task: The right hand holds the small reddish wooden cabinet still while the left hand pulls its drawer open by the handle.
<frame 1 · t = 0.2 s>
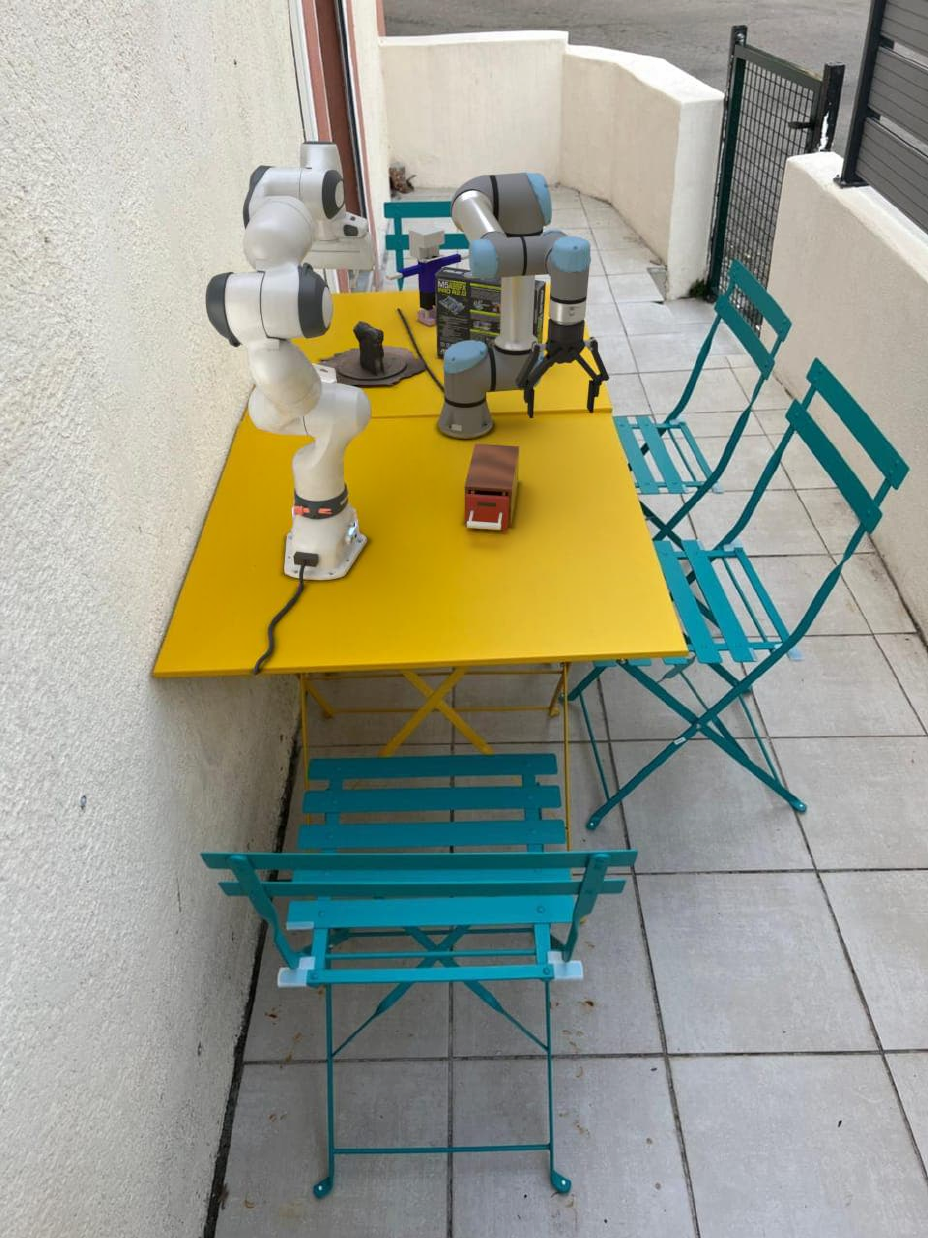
left hand: (333, 287, 199), 48 cm above the table, tool pointing down, fingers open, 8 cm apart
right hand: (560, 412, 196), 28 cm above the table, tool pointing down, fingers open, 13 cm apart
sculpture: (369, 368, 279), on the table
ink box: (324, 417, 254), on the table
box: (488, 362, 282), on the table
cabinet: (492, 503, 219), on the table
toy: (430, 321, 308), on the table
drawer: (489, 499, 210), point 5 cm above the table, slide at 1.7 cm
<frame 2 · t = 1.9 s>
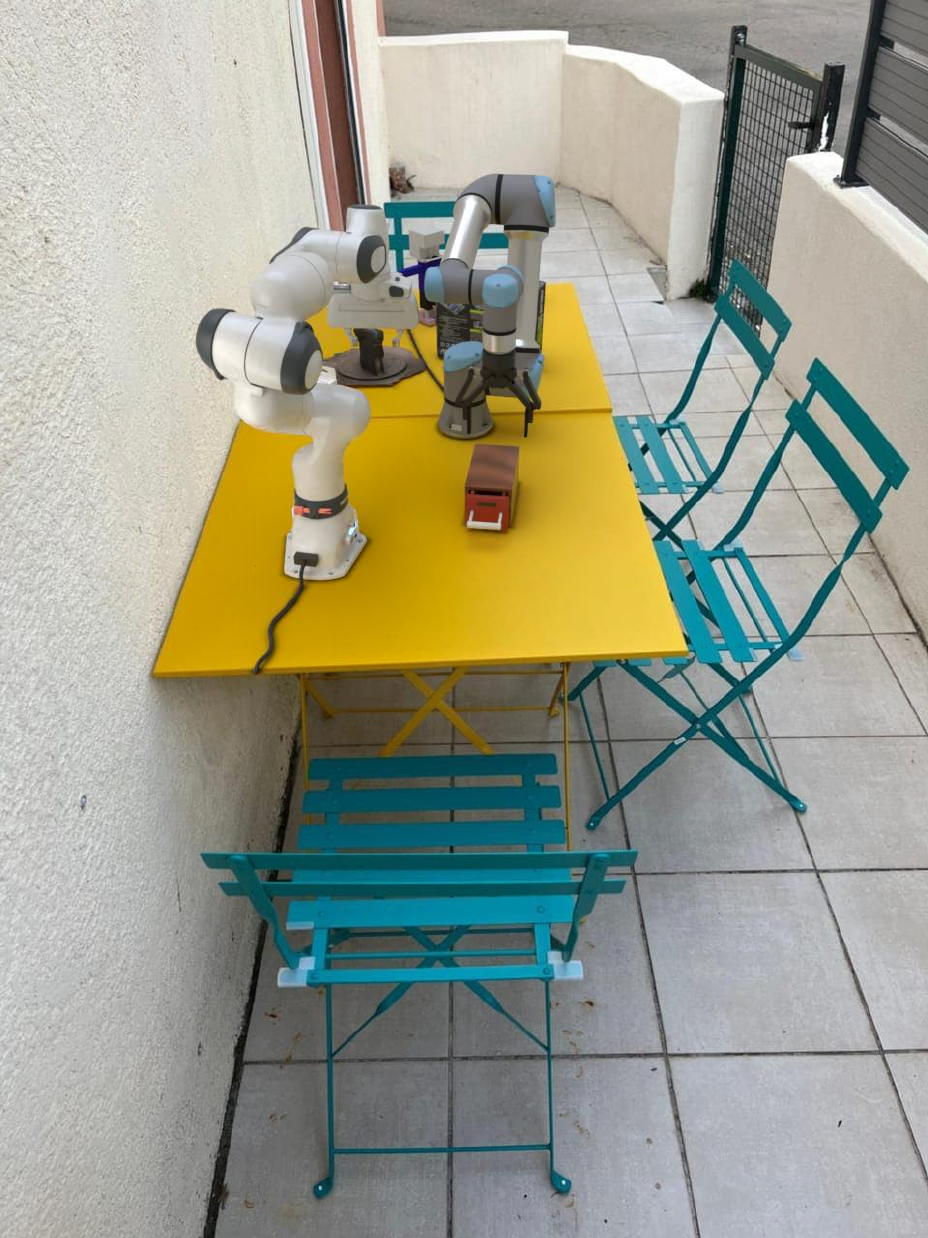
left hand: (375, 346, 199), 38 cm above the table, tool pointing down, fingers open, 8 cm apart
right hand: (497, 433, 212), 17 cm above the table, tool pointing down, fingers open, 13 cm apart
nothing on the table moved.
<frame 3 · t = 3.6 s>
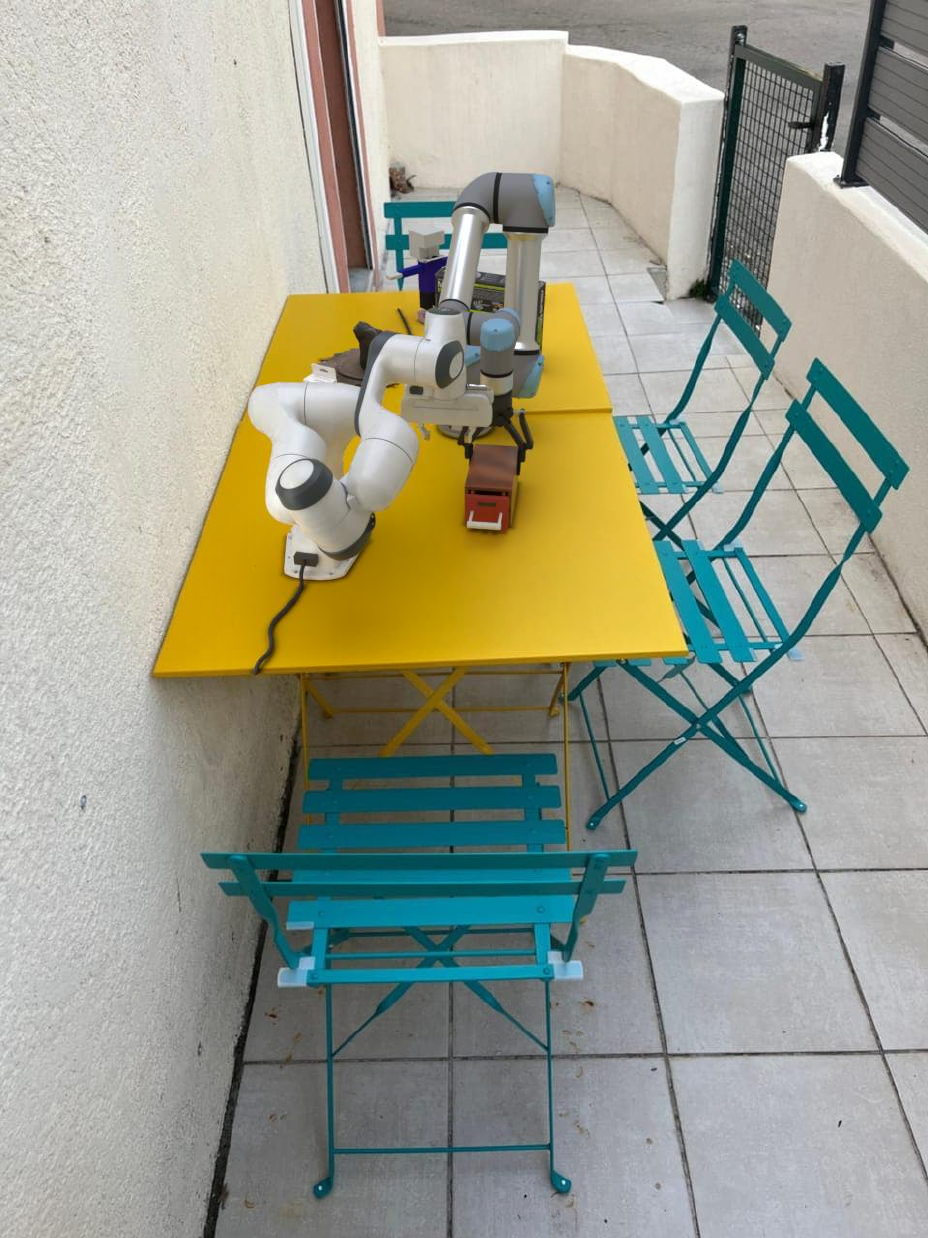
left hand: (447, 440, 199), 22 cm above the table, tool pointing down, fingers open, 8 cm apart
right hand: (494, 471, 219), 6 cm above the table, tool pointing down, fingers closed on cabinet, 11 cm apart
cabinet: (492, 503, 219), on the table, touching right hand
everything else where it was.
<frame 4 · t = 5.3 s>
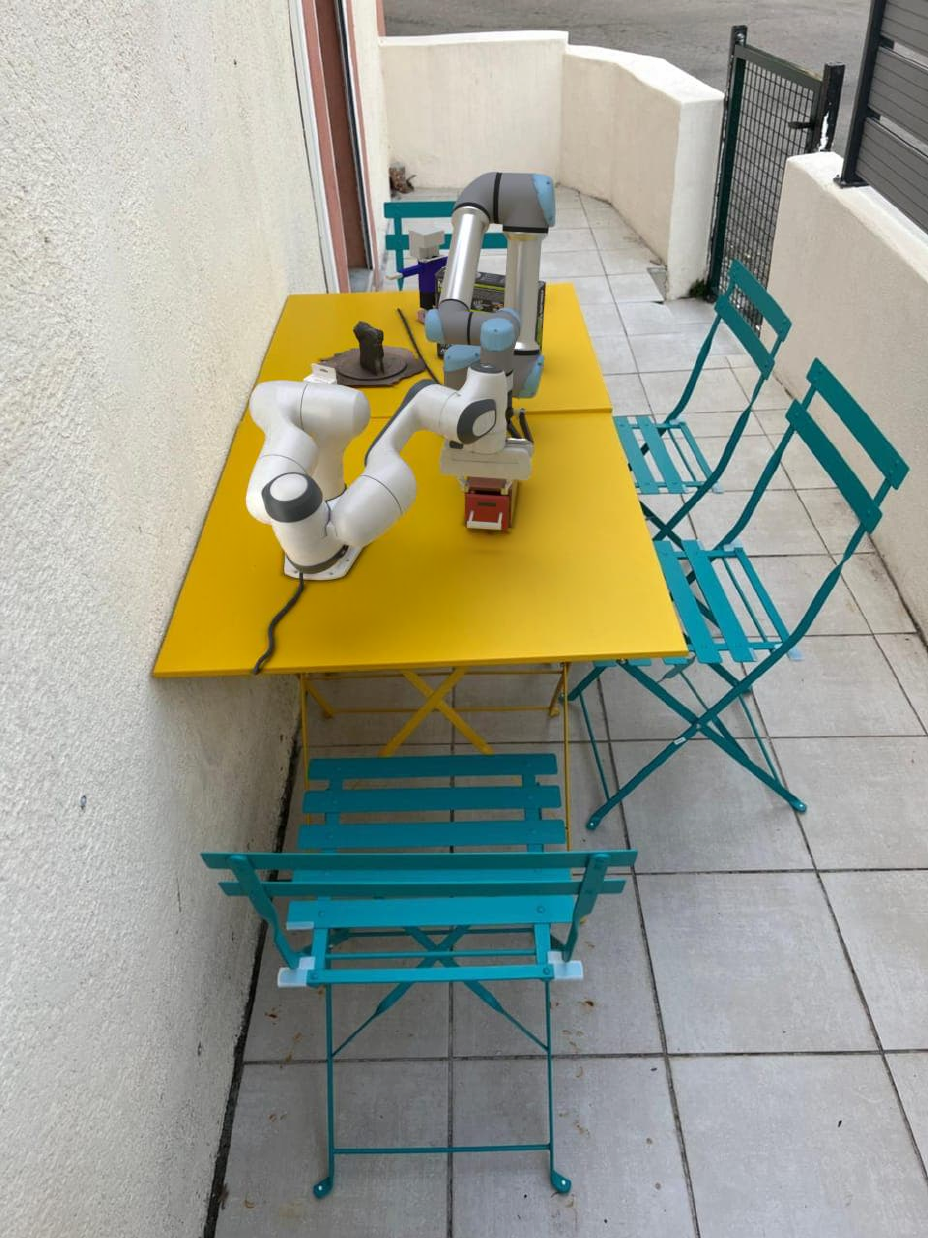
left hand: (485, 492, 198), 13 cm above the table, tool pointing down, fingers open, 7 cm apart
right hand: (494, 471, 219), 6 cm above the table, tool pointing down, fingers closed on cabinet, 11 cm apart
cabinet: (492, 502, 219), on the table, touching right hand
everything else where it was.
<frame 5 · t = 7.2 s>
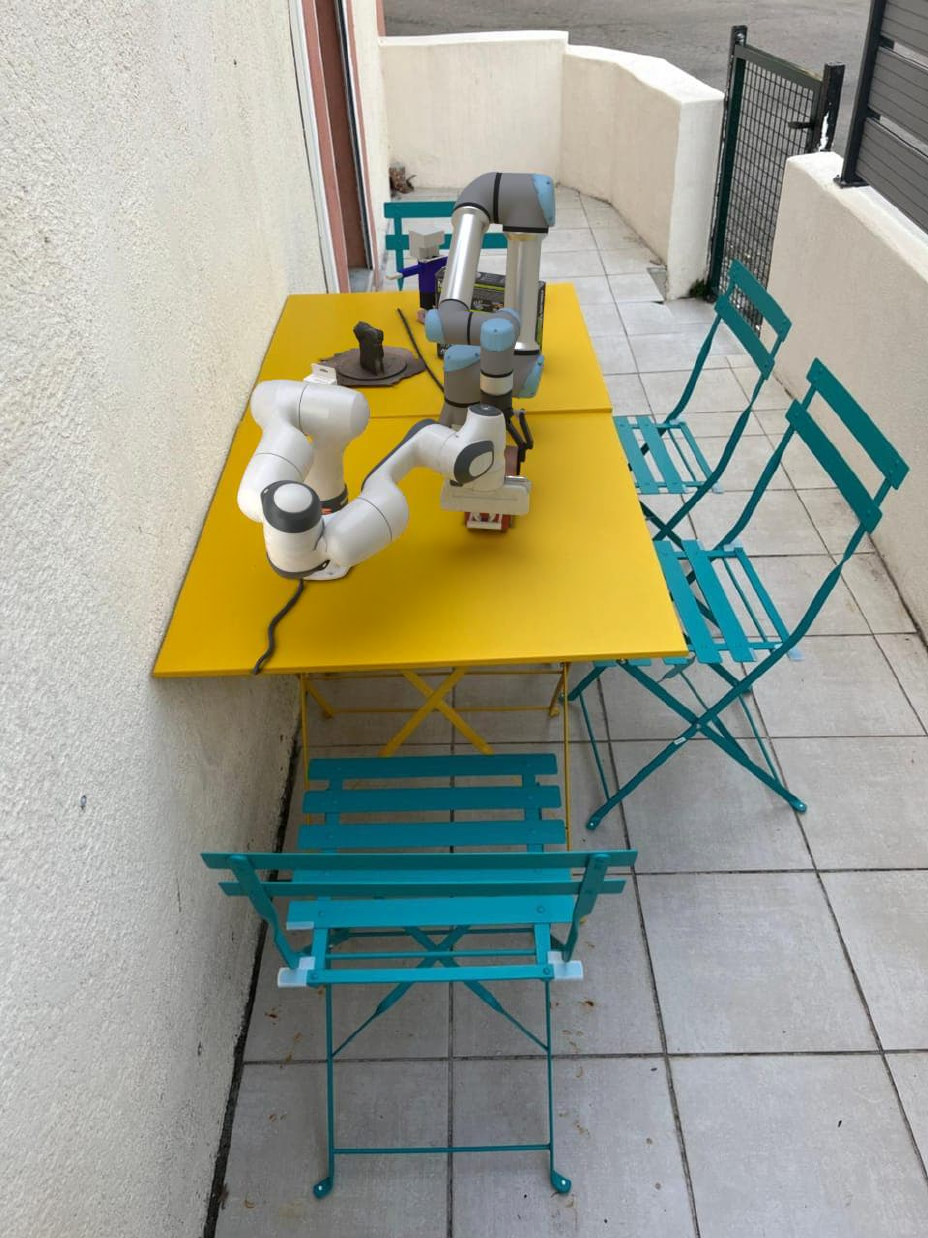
left hand: (484, 526, 204), 4 cm above the table, tool pointing down, fingers closed, pressing on drawer
right hand: (494, 471, 219), 6 cm above the table, tool pointing down, fingers closed on cabinet, 11 cm apart
cabinet: (492, 502, 219), on the table, touching right hand
drawer: (489, 498, 211), point 5 cm above the table, slide at 1.6 cm, touching left hand
everything else where it was.
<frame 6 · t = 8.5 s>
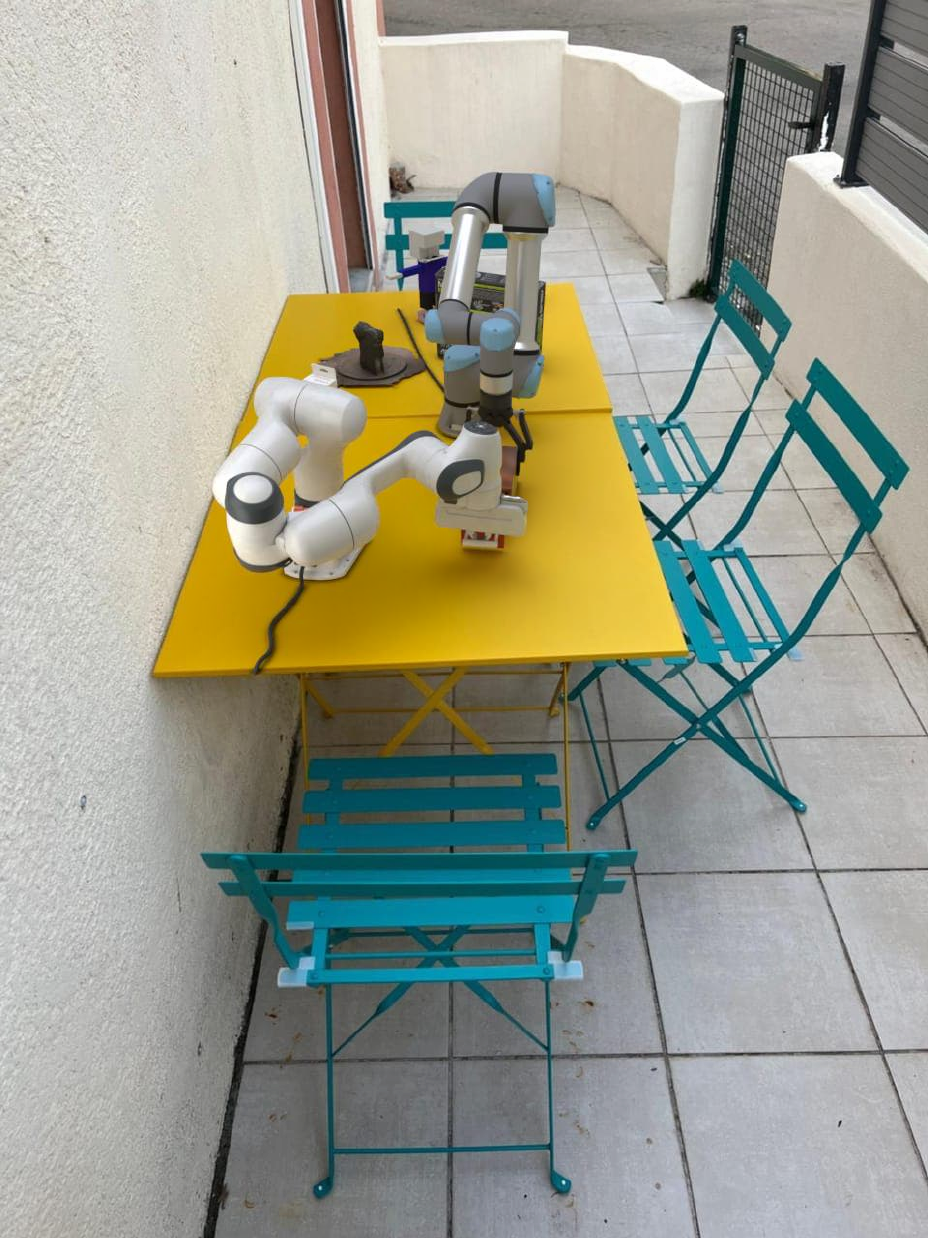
left hand: (480, 545, 198), 4 cm above the table, tool pointing down, fingers closed
right hand: (494, 471, 219), 6 cm above the table, tool pointing down, fingers closed on cabinet, 11 cm apart
cabinet: (491, 503, 219), on the table, touching right hand
drawer: (485, 515, 205), point 6 cm above the table, slide at 9.1 cm, touching left hand
everything else where it was.
when the right hand's fingers open (6 cm above the table, at t = 10.2 s): cabinet stays where it is, on the table.
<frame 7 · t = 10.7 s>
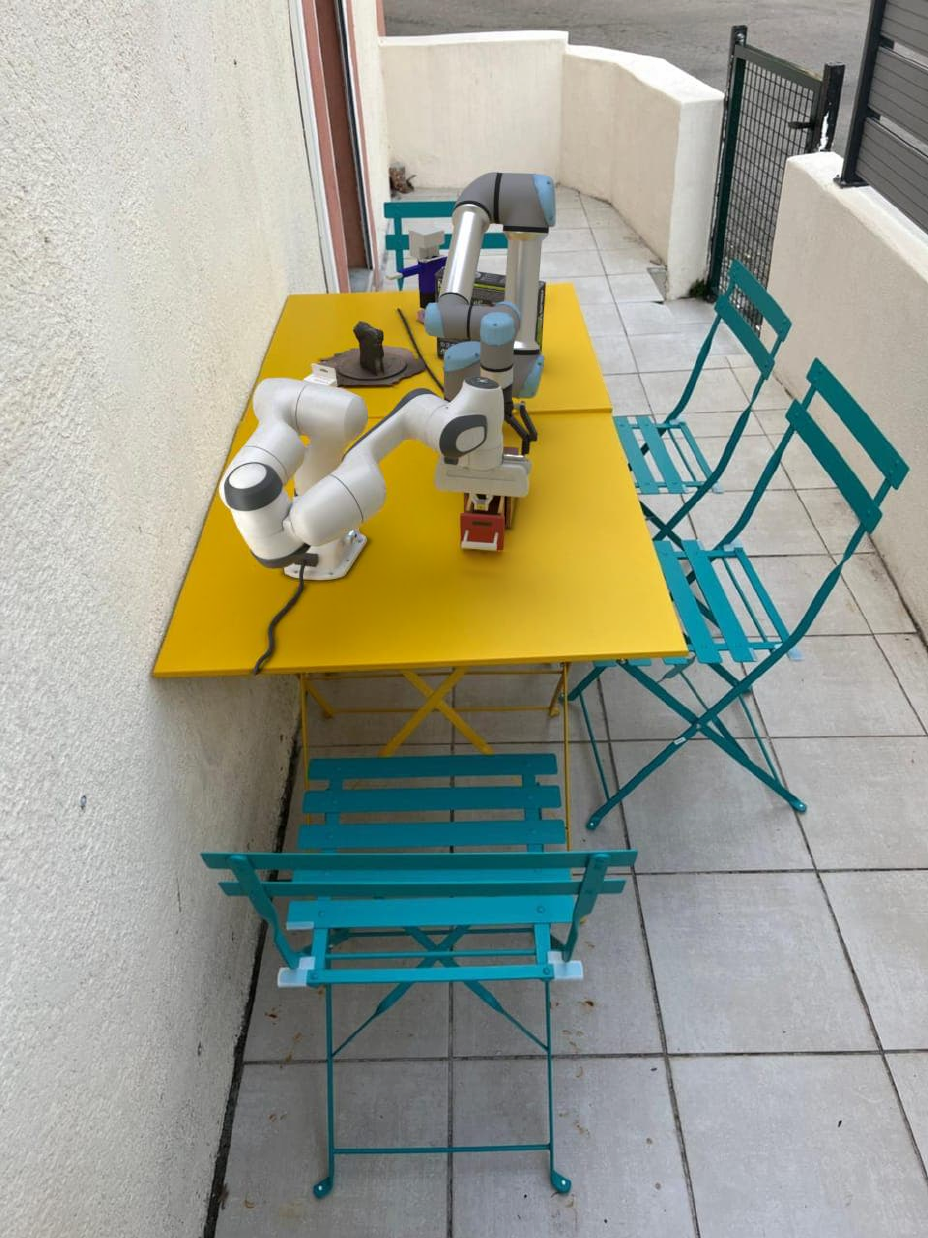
left hand: (481, 508, 192), 14 cm above the table, tool pointing down, fingers closed
right hand: (495, 463, 218), 8 cm above the table, tool pointing down, fingers open, 13 cm apart
cabinet: (491, 504, 218), on the table
drawer: (485, 517, 204), point 5 cm above the table, slide at 9.1 cm
everything else where it was.
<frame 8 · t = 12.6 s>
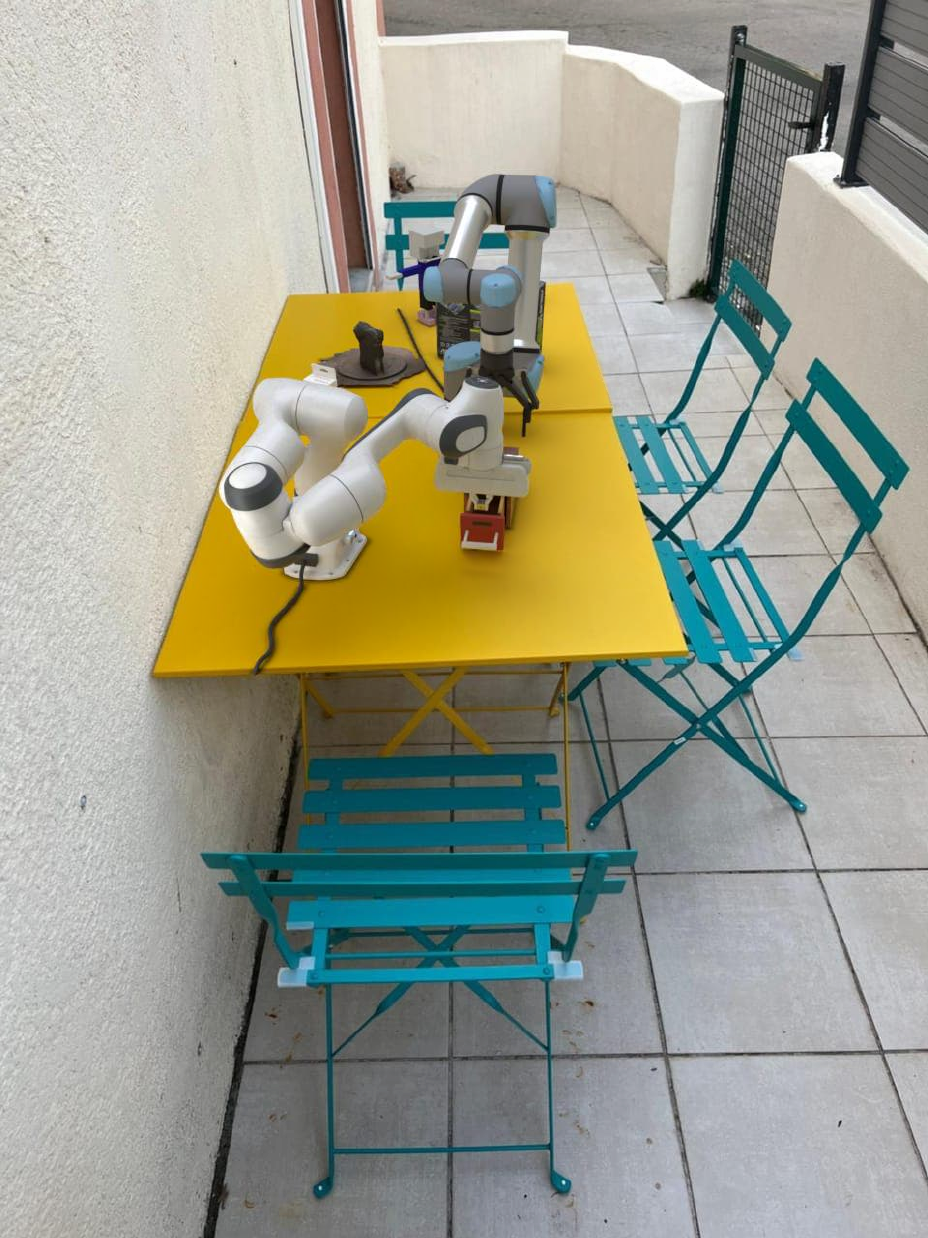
left hand: (481, 508, 192), 14 cm above the table, tool pointing down, fingers closed
right hand: (495, 432, 212), 16 cm above the table, tool pointing down, fingers open, 13 cm apart
nothing on the table moved.
at the end: drawer slide at 9.1 cm; cabinet tilted 0°; cabinet never tilted more than 3° during the clip; cabinet moved 0.6 cm from its start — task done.
